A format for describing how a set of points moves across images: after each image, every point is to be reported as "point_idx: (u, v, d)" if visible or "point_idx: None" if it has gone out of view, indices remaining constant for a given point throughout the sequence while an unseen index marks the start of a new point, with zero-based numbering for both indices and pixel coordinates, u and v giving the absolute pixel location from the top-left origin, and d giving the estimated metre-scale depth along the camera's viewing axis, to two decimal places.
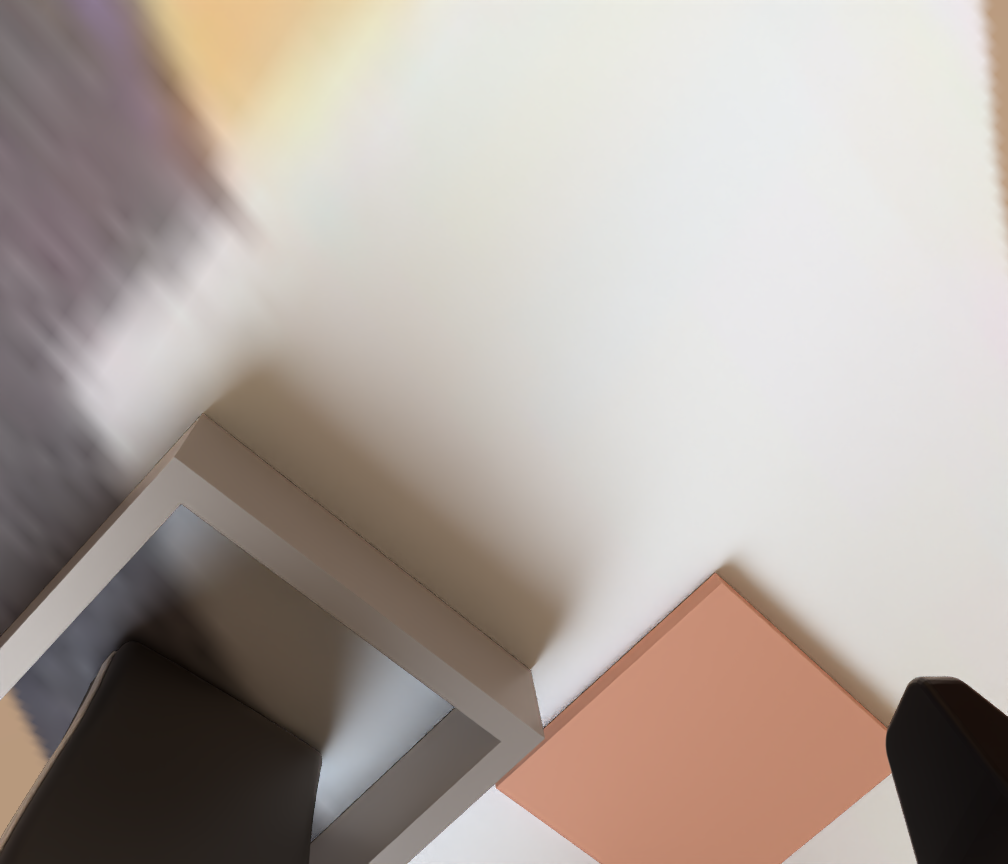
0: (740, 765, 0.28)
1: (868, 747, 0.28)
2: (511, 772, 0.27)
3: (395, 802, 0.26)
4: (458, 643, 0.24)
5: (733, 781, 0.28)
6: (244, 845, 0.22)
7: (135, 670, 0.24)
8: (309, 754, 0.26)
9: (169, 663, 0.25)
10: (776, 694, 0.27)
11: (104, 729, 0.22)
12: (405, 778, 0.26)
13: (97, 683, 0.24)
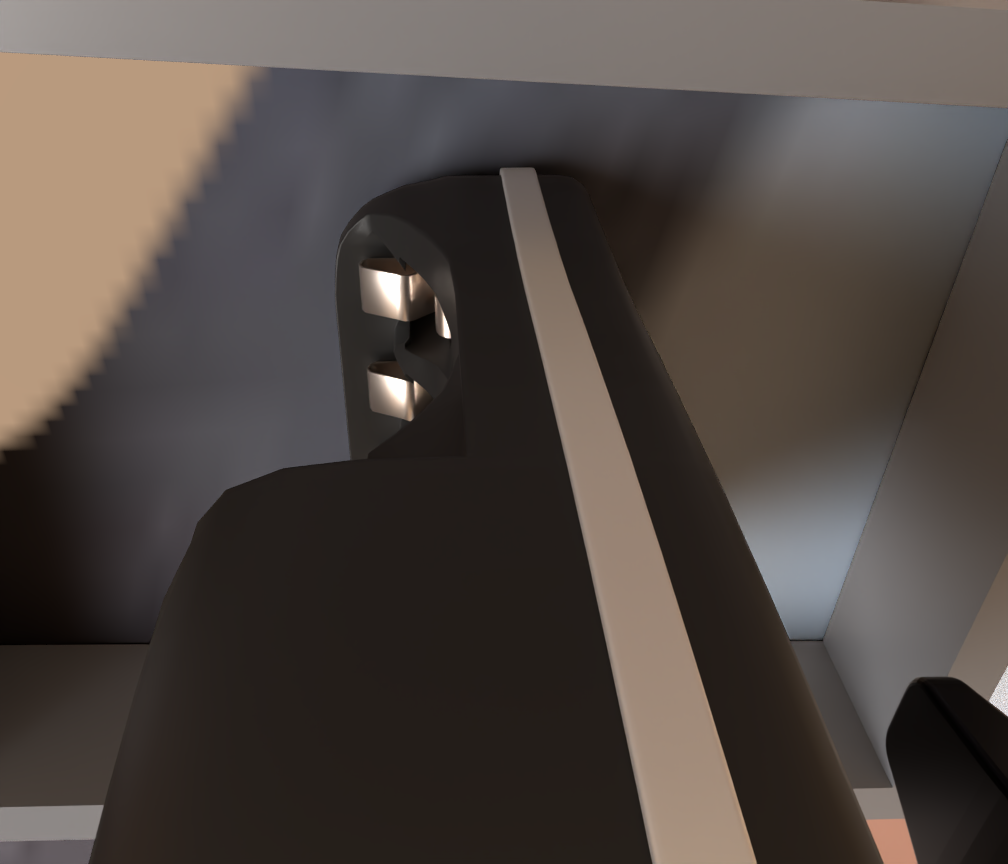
0: None
1: None
2: None
3: None
4: None
5: None
6: None
7: None
8: None
9: None
10: None
11: None
12: None
13: (545, 213, 0.10)
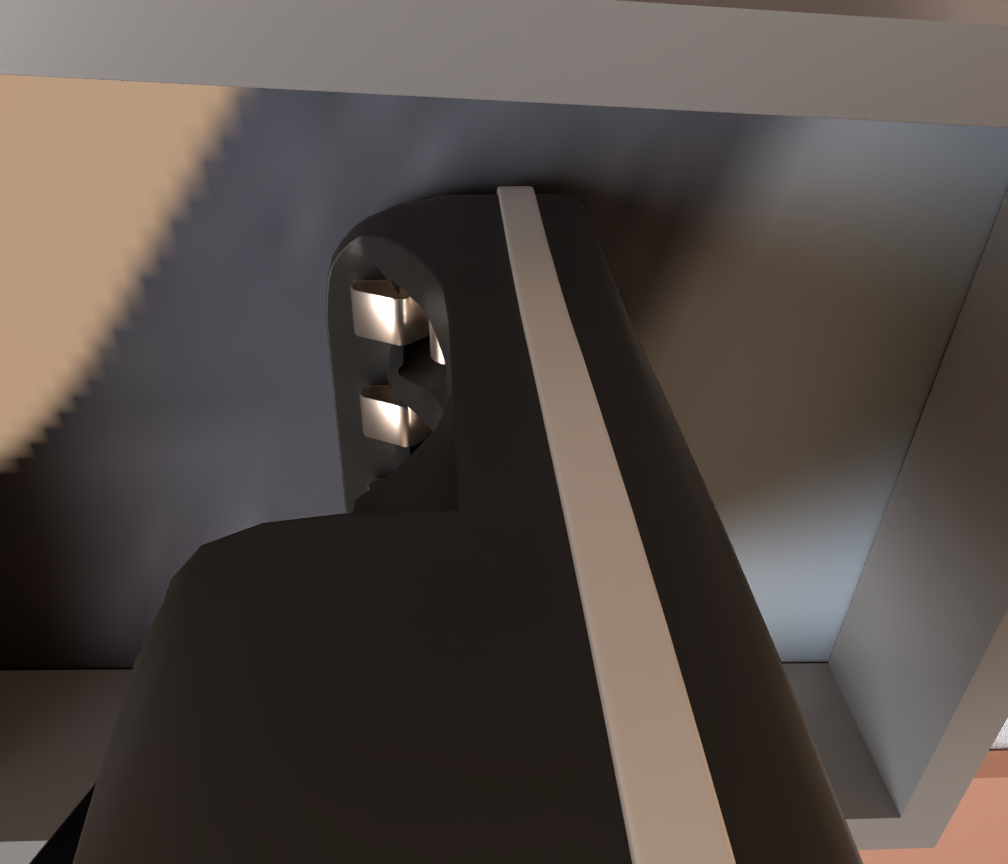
0: None
1: None
2: None
3: None
4: None
5: None
6: None
7: None
8: None
9: None
10: None
11: None
12: None
13: (544, 235, 0.10)
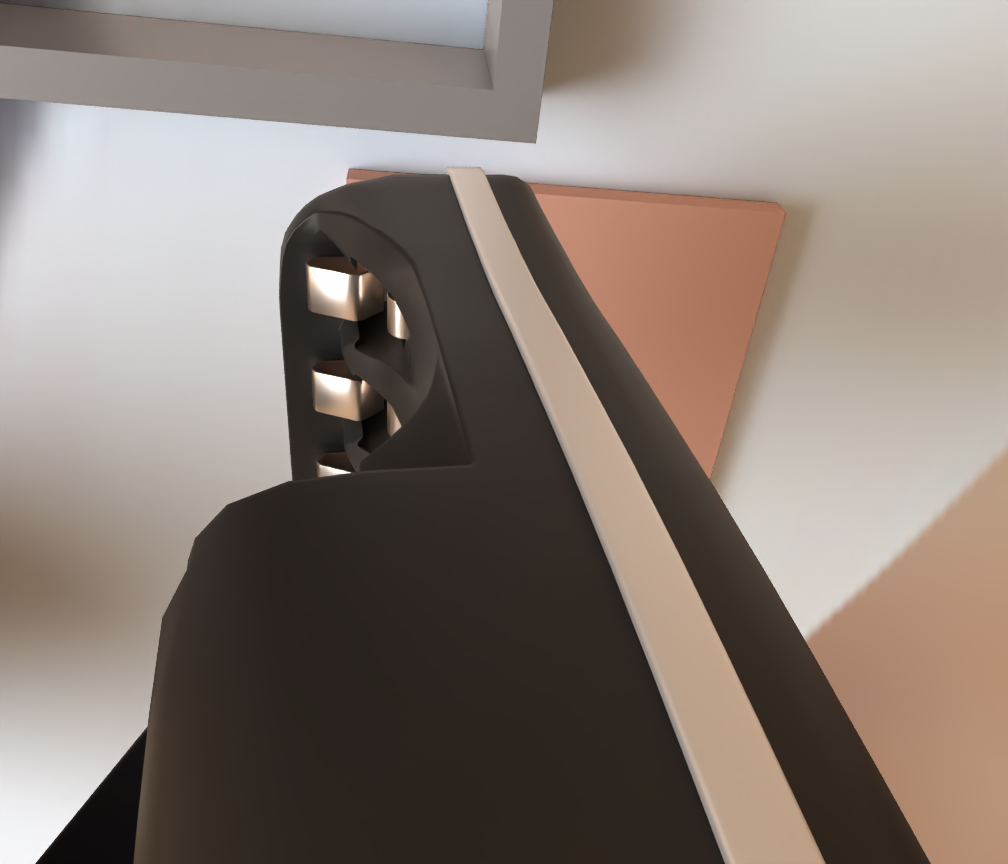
0: None
1: None
2: None
3: (252, 48, 0.16)
4: None
5: None
6: None
7: None
8: None
9: None
10: (681, 375, 0.21)
11: None
12: (280, 42, 0.16)
13: (500, 214, 0.10)
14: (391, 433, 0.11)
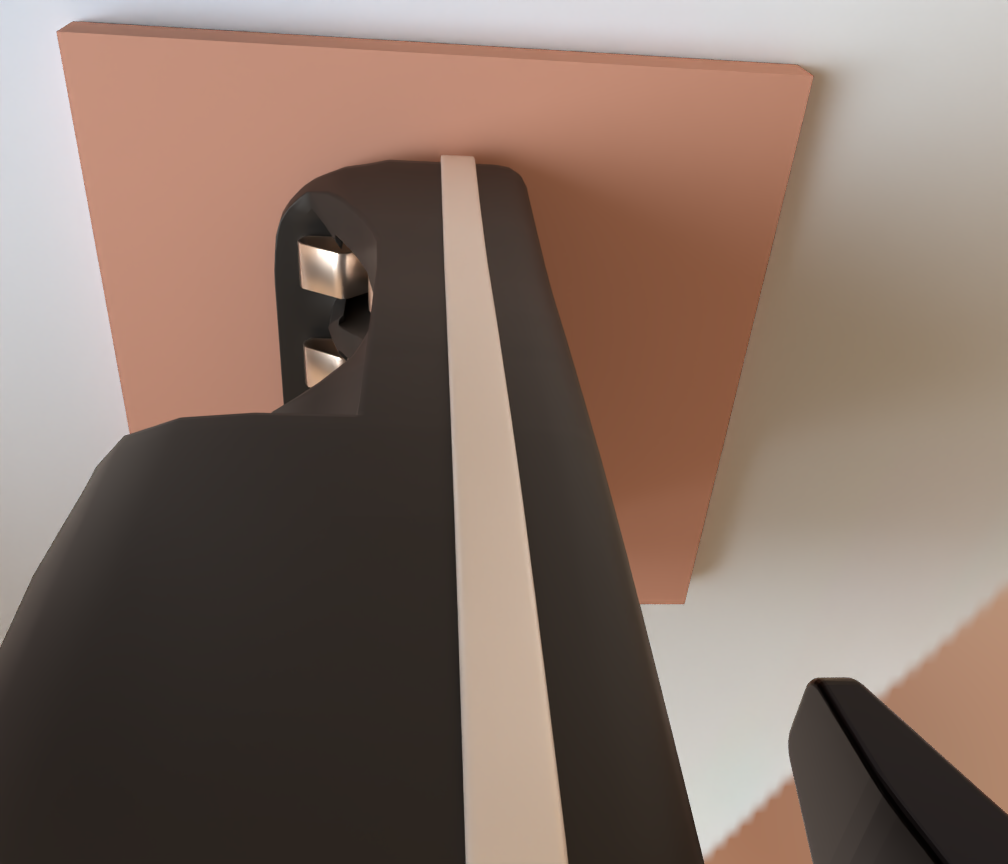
0: None
1: (656, 546, 0.16)
2: (118, 34, 0.11)
3: None
4: None
5: None
6: None
7: None
8: None
9: None
10: (654, 355, 0.14)
11: None
12: None
13: (477, 199, 0.10)
14: None
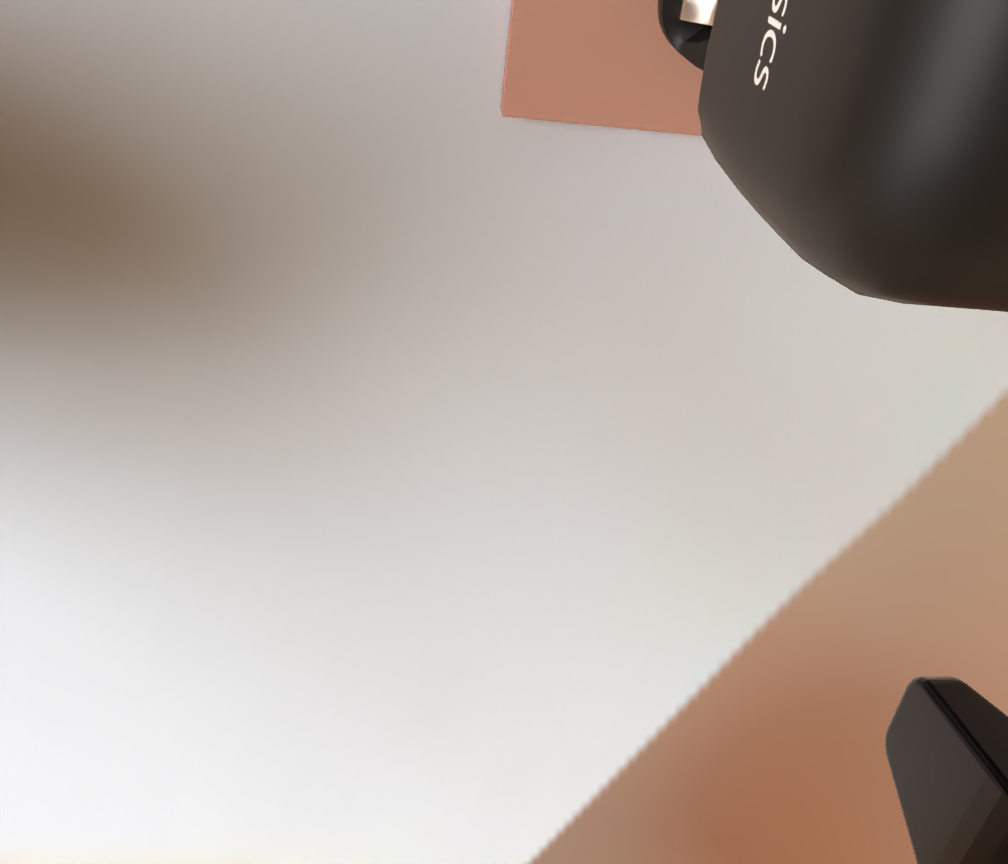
0: None
1: None
2: None
3: None
4: None
5: None
6: None
7: None
8: None
9: None
10: None
11: None
12: None
13: None
14: None
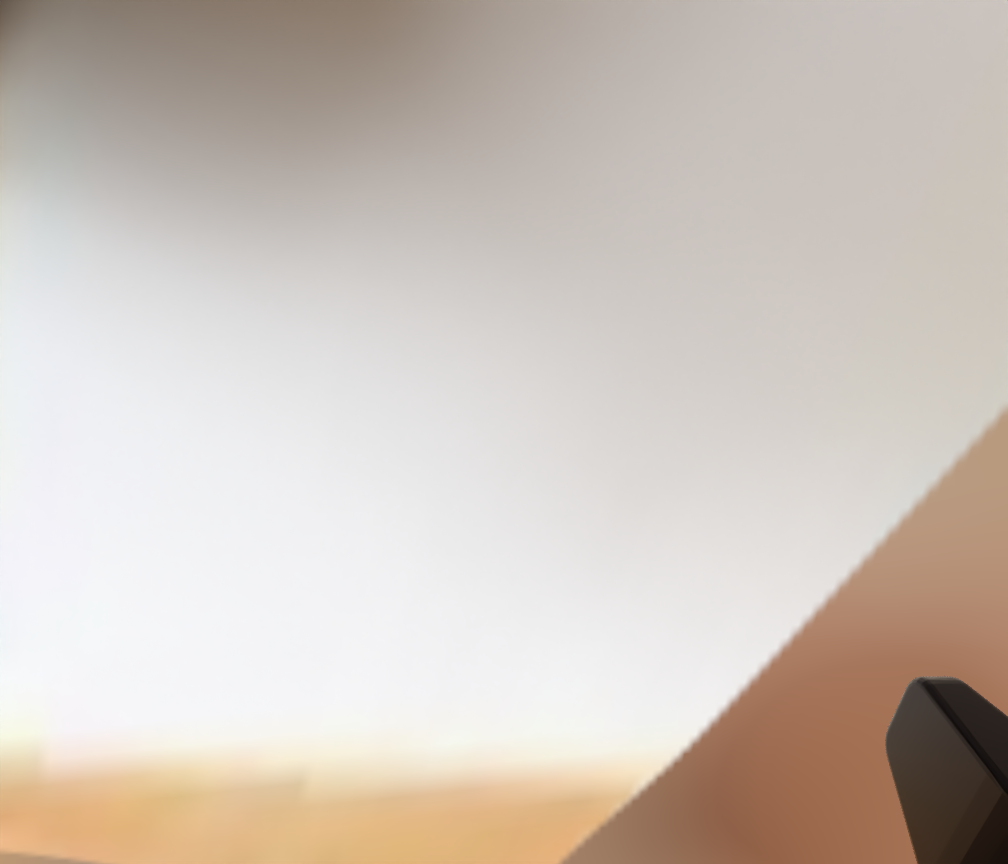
0: None
1: None
2: None
3: None
4: None
5: None
6: None
7: None
8: None
9: None
10: None
11: None
12: None
13: None
14: None
